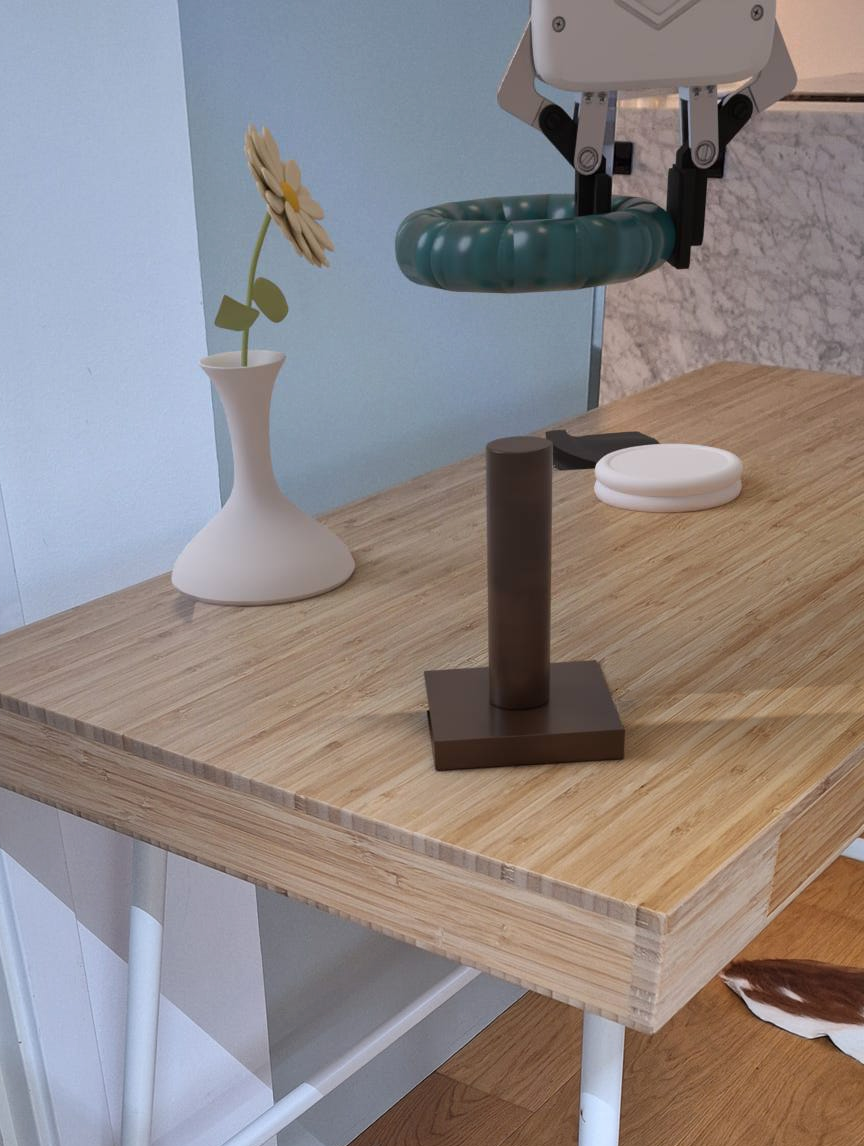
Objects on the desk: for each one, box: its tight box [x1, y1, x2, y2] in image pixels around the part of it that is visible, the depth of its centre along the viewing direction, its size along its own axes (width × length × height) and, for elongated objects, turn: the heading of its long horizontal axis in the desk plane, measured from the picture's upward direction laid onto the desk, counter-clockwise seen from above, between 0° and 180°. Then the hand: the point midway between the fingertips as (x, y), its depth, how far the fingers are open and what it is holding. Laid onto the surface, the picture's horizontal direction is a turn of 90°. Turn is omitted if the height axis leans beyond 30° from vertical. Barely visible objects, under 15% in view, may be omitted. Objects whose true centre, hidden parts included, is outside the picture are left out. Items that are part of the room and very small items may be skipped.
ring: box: [394, 193, 676, 295], centre depth 68 cm, size 13×13×3 cm
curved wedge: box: [544, 429, 661, 472], centre depth 111 cm, size 8×14×2 cm, turn 9°
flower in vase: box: [170, 123, 356, 607], centre depth 85 cm, size 13×11×25 cm
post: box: [423, 435, 626, 771], centre depth 70 cm, size 9×9×14 cm
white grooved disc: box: [593, 443, 744, 514], centre depth 101 cm, size 10×10×4 cm
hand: (636, 263), depth 69 cm, fingers closed on ring, 3 cm apart
